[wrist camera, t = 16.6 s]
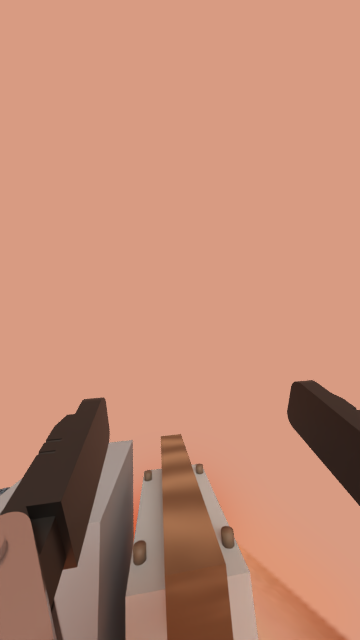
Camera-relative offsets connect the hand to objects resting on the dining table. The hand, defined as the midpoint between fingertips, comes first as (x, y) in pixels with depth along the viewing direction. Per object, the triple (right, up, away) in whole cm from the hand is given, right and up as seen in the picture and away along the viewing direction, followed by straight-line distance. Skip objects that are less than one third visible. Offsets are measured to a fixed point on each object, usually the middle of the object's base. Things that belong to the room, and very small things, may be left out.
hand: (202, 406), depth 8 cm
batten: (-1, -20, +17) cm, 26 cm away
